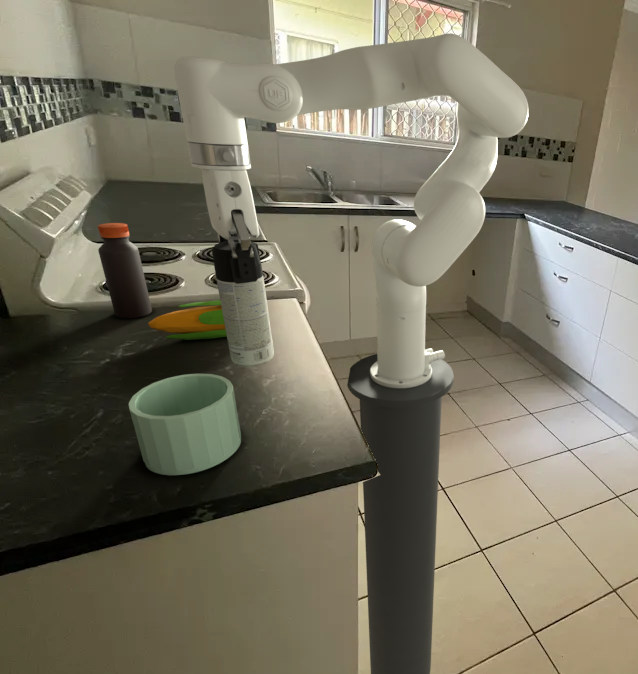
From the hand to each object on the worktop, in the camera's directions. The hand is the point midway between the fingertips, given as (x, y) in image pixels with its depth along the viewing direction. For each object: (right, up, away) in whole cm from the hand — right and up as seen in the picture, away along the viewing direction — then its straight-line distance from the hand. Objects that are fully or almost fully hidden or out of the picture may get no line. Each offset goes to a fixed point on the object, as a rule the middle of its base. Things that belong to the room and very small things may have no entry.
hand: (239, 274), depth 75 cm
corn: (-21, -10, +25) cm, 34 cm away
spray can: (-1, -14, +6) cm, 15 cm away
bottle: (-42, -5, +32) cm, 53 cm away
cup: (-2, -26, -7) cm, 27 cm away
